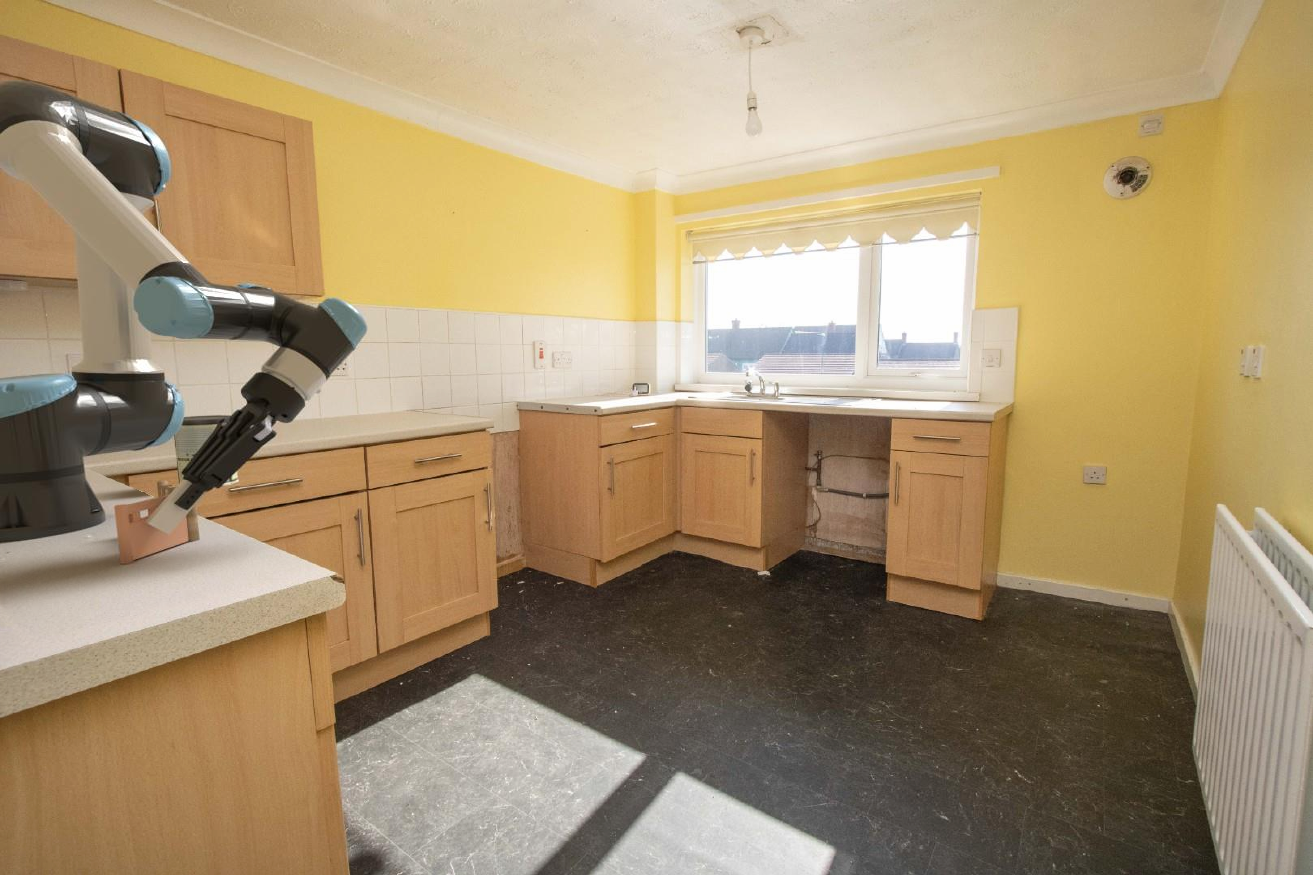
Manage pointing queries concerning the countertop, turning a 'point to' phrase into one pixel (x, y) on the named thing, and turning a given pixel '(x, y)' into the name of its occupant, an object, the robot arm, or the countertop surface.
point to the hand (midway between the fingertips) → (156, 528)
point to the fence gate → (144, 531)
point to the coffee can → (196, 440)
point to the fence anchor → (191, 516)
